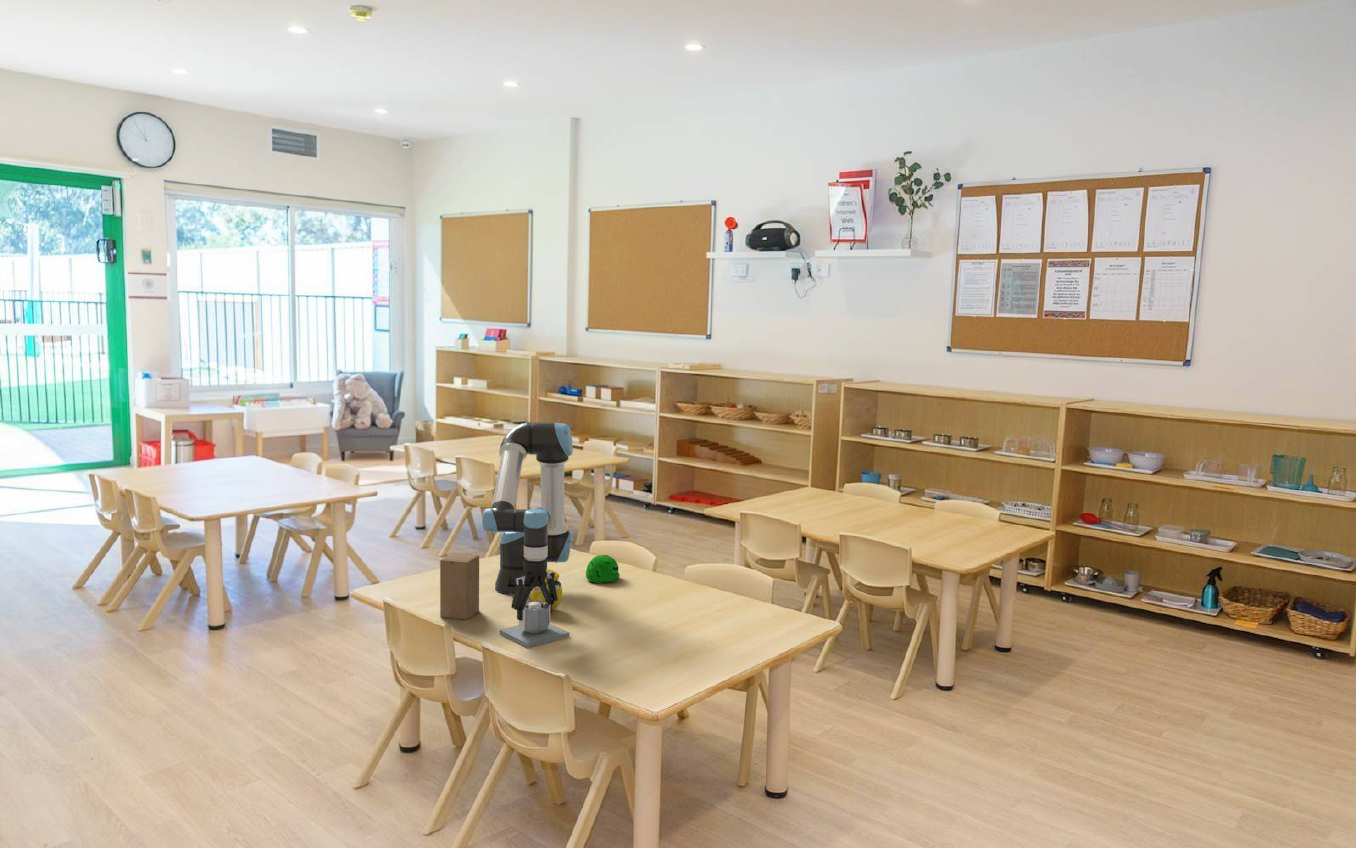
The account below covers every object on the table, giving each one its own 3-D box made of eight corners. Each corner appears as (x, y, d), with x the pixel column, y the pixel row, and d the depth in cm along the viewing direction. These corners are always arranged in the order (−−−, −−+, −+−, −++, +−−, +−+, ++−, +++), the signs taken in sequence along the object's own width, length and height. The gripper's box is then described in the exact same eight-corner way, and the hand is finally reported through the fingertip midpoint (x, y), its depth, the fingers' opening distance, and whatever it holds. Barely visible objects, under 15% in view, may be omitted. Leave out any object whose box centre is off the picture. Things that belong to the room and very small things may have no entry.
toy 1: (522, 609, 319) (522, 567, 317) (545, 603, 326) (545, 562, 324) (545, 618, 310) (546, 575, 308) (569, 612, 317) (569, 570, 316)
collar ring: (538, 620, 299) (538, 600, 298) (553, 627, 293) (554, 606, 292) (515, 626, 293) (515, 605, 292) (530, 633, 287) (531, 612, 286)
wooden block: (467, 620, 306) (467, 562, 303) (439, 617, 308) (439, 559, 305) (479, 611, 316) (479, 554, 313) (452, 608, 318) (452, 552, 315)
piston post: (540, 623, 305) (541, 593, 303) (569, 637, 293) (569, 605, 292) (499, 634, 294) (499, 602, 292) (527, 648, 282) (528, 615, 281)
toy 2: (618, 585, 350) (618, 560, 349) (583, 584, 350) (584, 559, 349) (620, 575, 364) (621, 551, 362) (587, 574, 364) (588, 550, 362)
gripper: (556, 550, 300) (555, 616, 303) (499, 561, 286) (499, 630, 288) (569, 555, 295) (568, 622, 298) (513, 566, 280) (512, 637, 283)
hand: (534, 626), depth 293 cm, fingers closed on collar ring, 9 cm apart
